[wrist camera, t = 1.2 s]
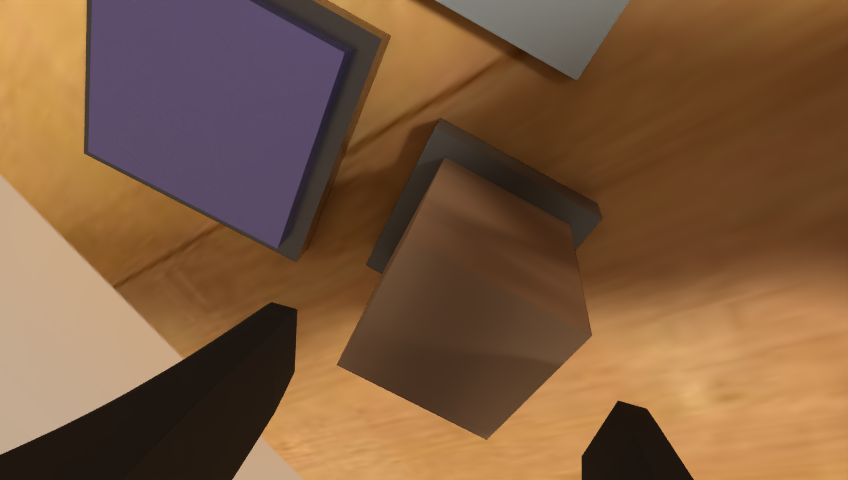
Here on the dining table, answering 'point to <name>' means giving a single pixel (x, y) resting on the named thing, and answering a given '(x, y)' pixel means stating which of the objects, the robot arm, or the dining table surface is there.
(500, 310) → the stamp
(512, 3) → the marked board
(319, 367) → the dining table surface
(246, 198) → the ink pad
